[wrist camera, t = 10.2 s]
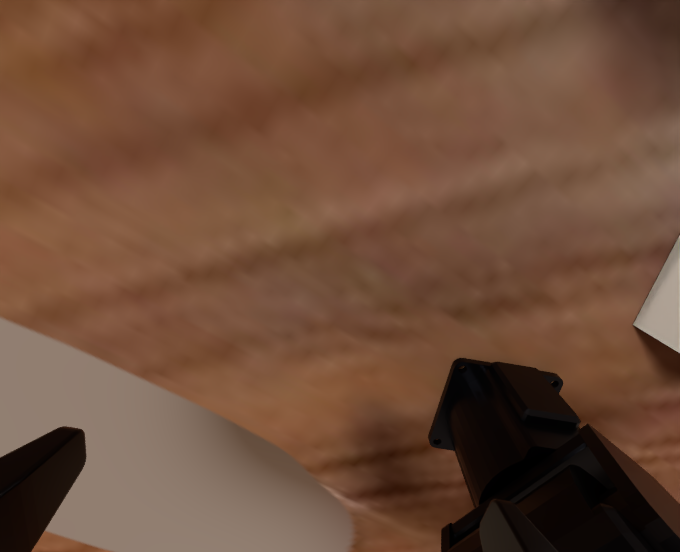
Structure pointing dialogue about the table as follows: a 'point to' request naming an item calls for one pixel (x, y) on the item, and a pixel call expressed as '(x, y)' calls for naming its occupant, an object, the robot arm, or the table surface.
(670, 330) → the white square tray
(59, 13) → the table surface
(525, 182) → the table surface
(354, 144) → the table surface
